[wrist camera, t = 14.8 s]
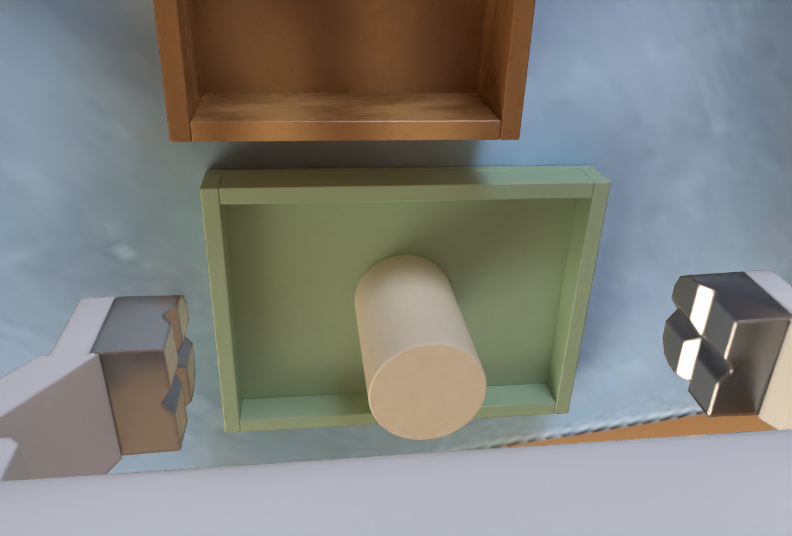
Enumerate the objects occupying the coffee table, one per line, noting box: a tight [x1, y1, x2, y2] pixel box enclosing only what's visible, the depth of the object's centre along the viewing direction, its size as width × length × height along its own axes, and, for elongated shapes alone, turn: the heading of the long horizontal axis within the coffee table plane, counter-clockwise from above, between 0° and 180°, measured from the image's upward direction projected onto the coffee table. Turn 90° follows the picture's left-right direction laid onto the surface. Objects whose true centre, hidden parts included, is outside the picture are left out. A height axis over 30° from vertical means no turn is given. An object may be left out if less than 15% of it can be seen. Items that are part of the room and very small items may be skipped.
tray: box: [200, 165, 610, 433], centre depth 36 cm, size 19×14×2 cm
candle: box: [354, 255, 487, 440], centre depth 33 cm, size 5×5×8 cm
